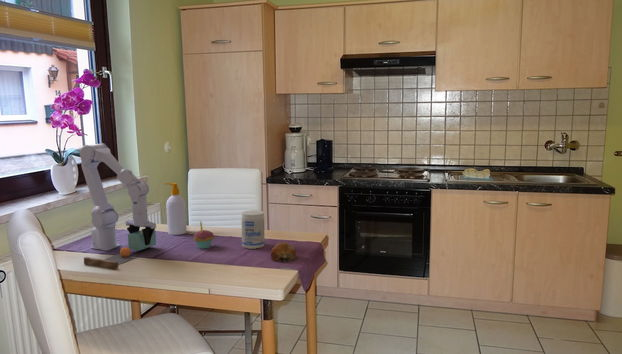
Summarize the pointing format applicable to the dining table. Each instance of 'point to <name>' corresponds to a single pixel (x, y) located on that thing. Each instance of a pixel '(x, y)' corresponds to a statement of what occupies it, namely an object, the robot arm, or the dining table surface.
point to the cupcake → (203, 238)
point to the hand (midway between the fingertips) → (141, 243)
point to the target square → (120, 258)
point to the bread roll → (283, 252)
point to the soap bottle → (176, 212)
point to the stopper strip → (101, 263)
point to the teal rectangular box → (140, 240)
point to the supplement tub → (253, 229)
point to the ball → (125, 252)
